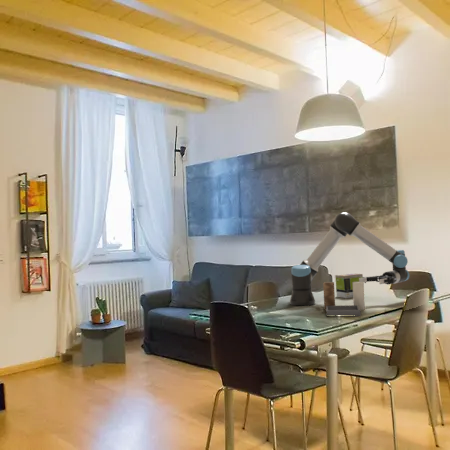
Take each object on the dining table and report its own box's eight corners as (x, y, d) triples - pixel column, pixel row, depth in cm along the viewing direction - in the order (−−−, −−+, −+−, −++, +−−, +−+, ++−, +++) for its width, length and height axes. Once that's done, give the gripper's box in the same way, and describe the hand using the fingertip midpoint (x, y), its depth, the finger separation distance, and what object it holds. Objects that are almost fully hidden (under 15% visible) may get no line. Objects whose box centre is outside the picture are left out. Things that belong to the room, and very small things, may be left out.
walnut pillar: (324, 309, 279) (323, 283, 280) (324, 308, 285) (323, 282, 286) (335, 309, 278) (334, 282, 279) (335, 308, 284) (333, 281, 284)
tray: (326, 316, 258) (326, 310, 258) (326, 311, 275) (326, 305, 275) (360, 316, 255) (360, 310, 255) (358, 310, 272) (357, 305, 272)
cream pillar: (354, 310, 275) (352, 282, 275) (353, 308, 280) (352, 281, 281) (365, 310, 273) (364, 282, 274) (364, 308, 279) (363, 281, 279)
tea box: (355, 294, 336) (354, 272, 336) (364, 296, 326) (363, 273, 327) (336, 296, 330) (335, 274, 330) (344, 298, 321) (343, 275, 321)
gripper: (410, 284, 287) (389, 289, 273) (373, 283, 306) (351, 286, 293) (409, 271, 287) (388, 275, 274) (372, 270, 306) (351, 274, 293)
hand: (369, 281), depth 283 cm, fingers open, 13 cm apart
